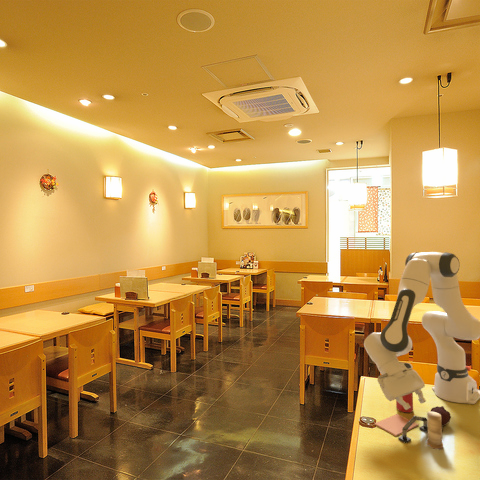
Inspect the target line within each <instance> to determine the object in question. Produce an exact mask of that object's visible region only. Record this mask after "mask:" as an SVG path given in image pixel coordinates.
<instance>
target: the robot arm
mask: <svg viewBox="0 0 480 480" xmlns="http://www.w3.org/2000/svg"><path fill="white" fill-rule="evenodd" d="M404 266H405V267H404V269H403V272H402V274H401V276H400V277H401V278H400V280H399V283H398V288H397V289H398V290H397V298H396V301H395V305H394V307H393V310H392V314H391V317H390V319H389V321H388V323H387V324H386V325H385V326H384V328H382V330H381V332H375V331H374V332H371V333H370V334H368V335H367V336H366V338H364V341H363V346H364V349H365V351H366V353H367V354H368V356H369V358H370V359H371V361H372V362H373V363H374V364H376V368H377V369H378V371H379V372H380V374H381V375H378V377H377V383H378V384H379V387H380V390H381V391H382V393H383V396H385V398H386V399H387V400H388V401H389V402H391V401H394V400H395V402H396V401H397V402H398V403H399V404H401V405H402V406H403V407H404V409H405V410H407V409H409V408H411V407H410V405H409V404H408V403H406V402H405V401H404V400H403V398H402V396H405V395H408V394H410V393H414V394H415V395H417V397H418V398H417V401H418V402H419V403H420V404H424V403H425V402H427V400H426V399H425V397H424V393H423V390H422V389H423V388H425V386H426V385H425V382H424V380H423V378H422V377H421V376H420V375H419V373H418V372H417V371H416V370H415V369H413V368H414V367H413V364H411V363H410V362H404V361H399V359H398V357H401V356H403V355H407V354H408V353H409V352H411V351H412V349H413V340H412V338H411V337H410V335H409V334H408V325H409V321H410V319H411V315H412V311H413V309H414V307H415V306H417V305H419V304H421V303H422V302H424V300H425V298H426V296H427V293H428V290H429V286H431V292H432V297H433V298H432V299H433V302H434V303H435V305H436V306H438V307H439V308H441V309H442V310H443V311H442V310H441V311H440V310H427V311H426V312H424V314H423V315H422V318H421V325H422V327H423V328H424V330H425V331H427V332H428V333H429V335H430V336H431V337H432V340H433V341H434V343H435V346H436V352H437V353H436V354H437V364H436V365H437V366H436V371H437V372H436V373H435V374H434V376H435V377H434V386H432V387H431V389H432V391H434V393H435V395H436V396H437V397H438V398H440V399H442V400H445V401H447V402H452V403H458V404H469V405H475V404H476V403H477V402H478V400H480V389H478V385H477V381H476V380H475V379H474V378H473V377H472V376H470V375H469V372H470V371H471V369H472V368H471V366H468V365H466V364H467V363H466V352H465V349H464V348H463V347H462V346H461V345H459V344H458V343H457V342H456V340H455V338H456V339H459V340H464V341H465V340H466V341H477V340H479V339H480V320H479V318H476V317H475V316H474V315H473V314H472V313H471V312H470V311H469V310H468V309H467V308H466V306H465V304H464V302H463V299H462V296H461V295H462V294H461V290H460V283H459V279H458V278H459V277H458V273H459V271H460V259H459V258H458V257H457V256H456V254H454V253H451V252H440V251H428V252H427V251H426V252H425V251H424V252H419V251H418V252H417V251H416V252H412V253H410V254H409V255H408V256H407V257H406V259H405V265H404Z"/></svg>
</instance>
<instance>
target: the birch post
mask: <svg viewBox="0 0 480 480" xmlns="http://www.w3.org/2000/svg"><path fill="white" fill-rule="evenodd" d="M426 413H427V414H426V416H427V417H426V418H427V426H428V433H427V439H426V444H427V446H428V447H430V448H432V449H435V450H442V449H443V448H444V443H443V435H442V434H443V431H442V430H443V425H441V415H440V414H439V413H437V412H432V411H431V410H430V411H427V412H426Z"/></svg>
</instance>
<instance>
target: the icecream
mask: <svg viewBox="0 0 480 480" xmlns="http://www.w3.org/2000/svg"><path fill="white" fill-rule="evenodd" d="M430 411H432V412H437V413H439V414H440V415H441V425H442V427H443V426H446V425H447V424H448V423H450V421H451V418H452V415H451V413H450V412H449V411H448V410H446V409H445V406H443V405H441V406H435V407H434V406H433V407H432V408H431V409H430Z"/></svg>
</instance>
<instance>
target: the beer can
mask: <svg viewBox="0 0 480 480" xmlns="http://www.w3.org/2000/svg"><path fill="white" fill-rule="evenodd" d="M413 393H414V392H413ZM413 393H410V394H408V395H405V396H402V398H403V400H404V401H405V402H406V403H408V404H409V405H410V407H411V408H409V409H407V410H405V409H404V407H403V406H402V405H401V404H399V403H398V402H397V401H396V400H395V405H396V409H397V410H398V411H399V412H401V413H405V414H410V413H412V412H413V411H414V396H413V395H414V394H413Z"/></svg>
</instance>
